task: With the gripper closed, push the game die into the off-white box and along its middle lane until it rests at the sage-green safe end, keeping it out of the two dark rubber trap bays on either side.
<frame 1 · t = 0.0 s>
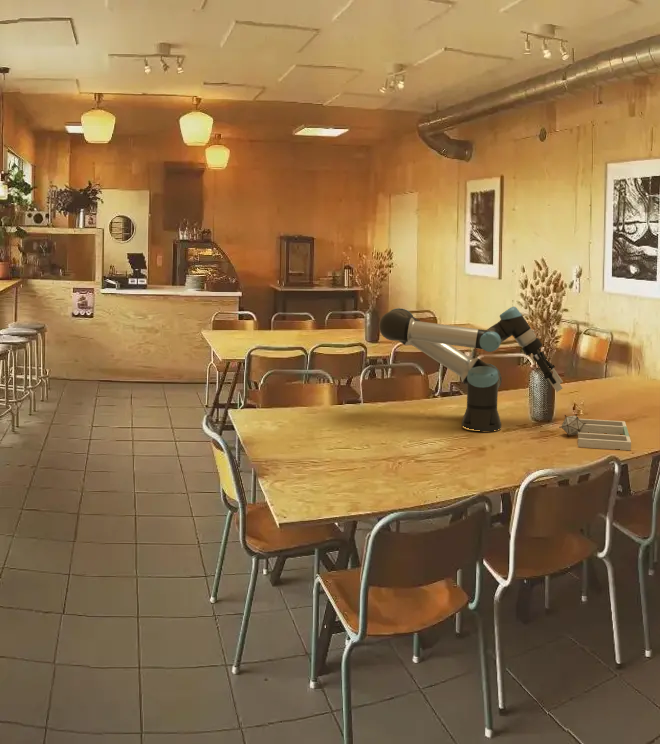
hand: (560, 386, 322), 15 cm above the table, tool tilted 35°, fingers open, 13 cm apart
trap box: (599, 437, 305), on the table
game die: (571, 436, 308), on the table
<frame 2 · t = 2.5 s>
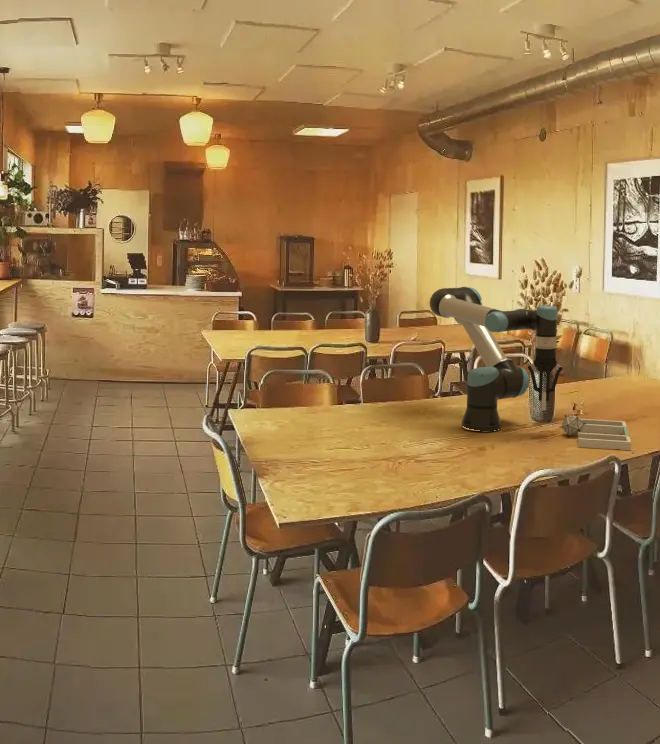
hand: (543, 409, 308), 10 cm above the table, tool pointing down, fingers closed
nothing on the table moved.
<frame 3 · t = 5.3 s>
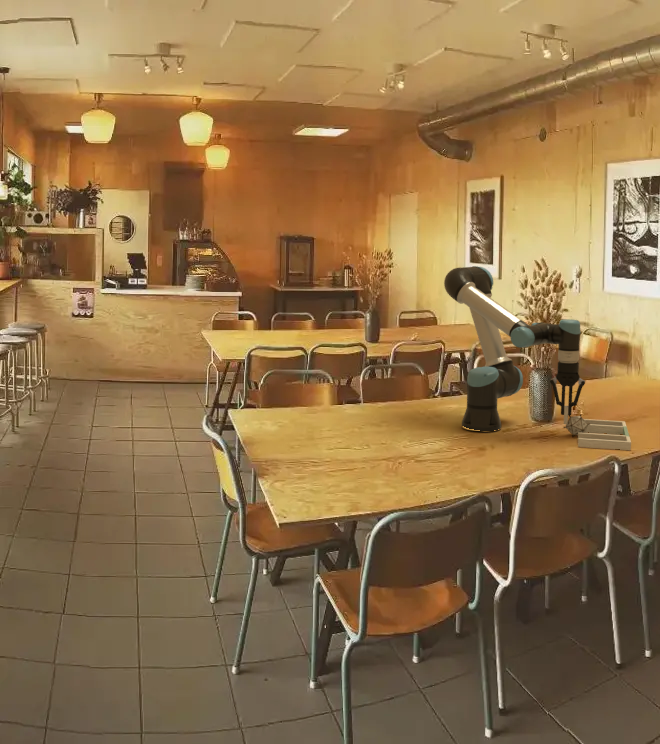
hand: (565, 423, 307), 5 cm above the table, tool pointing down, fingers closed
game die: (576, 436, 307), on the table, touching gripper
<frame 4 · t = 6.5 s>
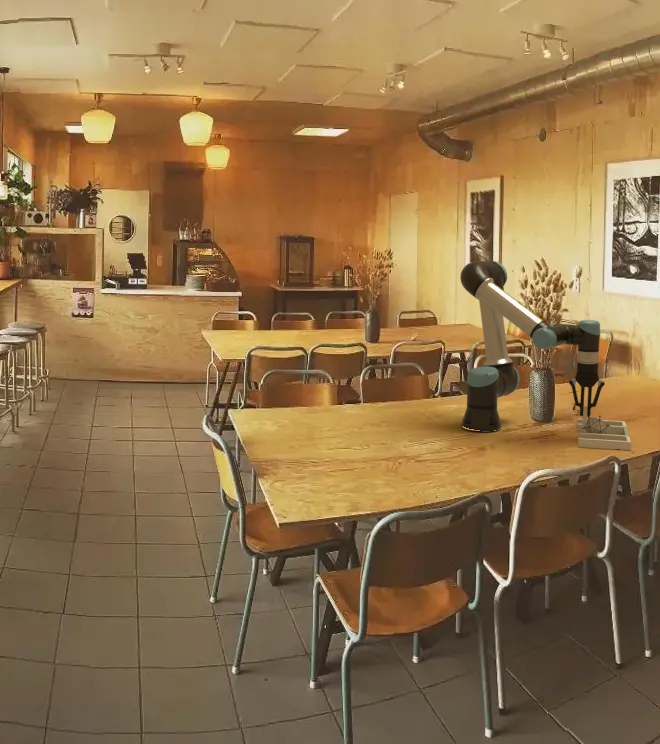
hand: (584, 424, 305), 5 cm above the table, tool pointing down, fingers closed
game die: (594, 437, 305), on the table, touching gripper
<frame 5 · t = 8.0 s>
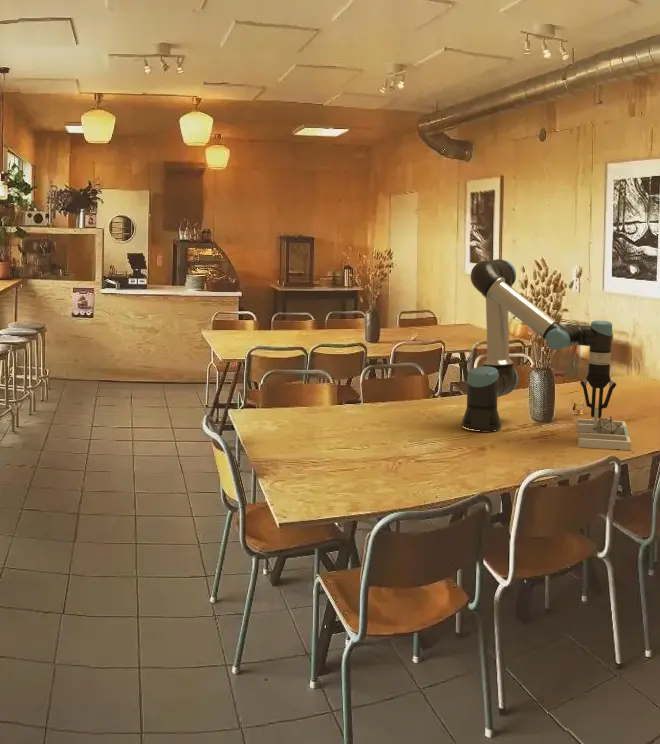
hand: (595, 425, 304), 4 cm above the table, tool pointing down, fingers closed
game die: (605, 438, 304), on the table, touching gripper
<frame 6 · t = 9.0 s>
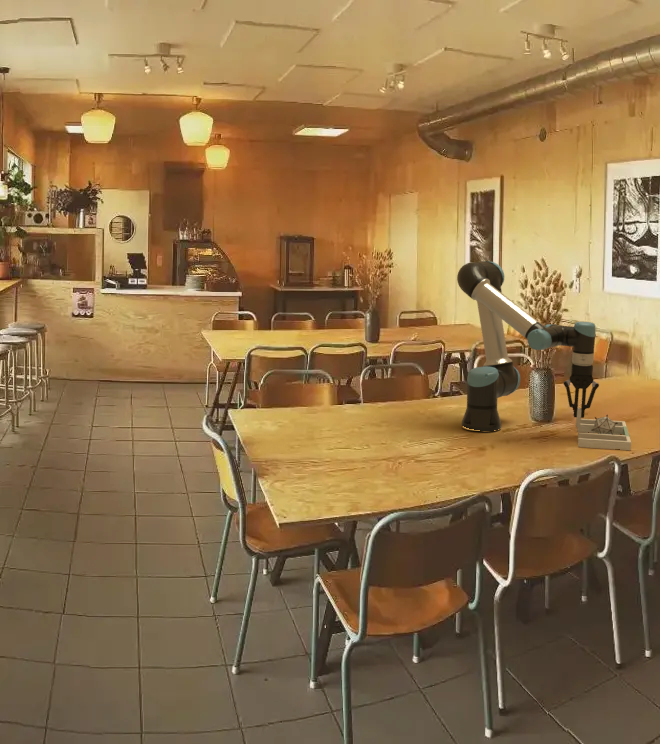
hand: (578, 425, 307), 4 cm above the table, tool pointing down, fingers closed
game die: (605, 437, 304), on the table
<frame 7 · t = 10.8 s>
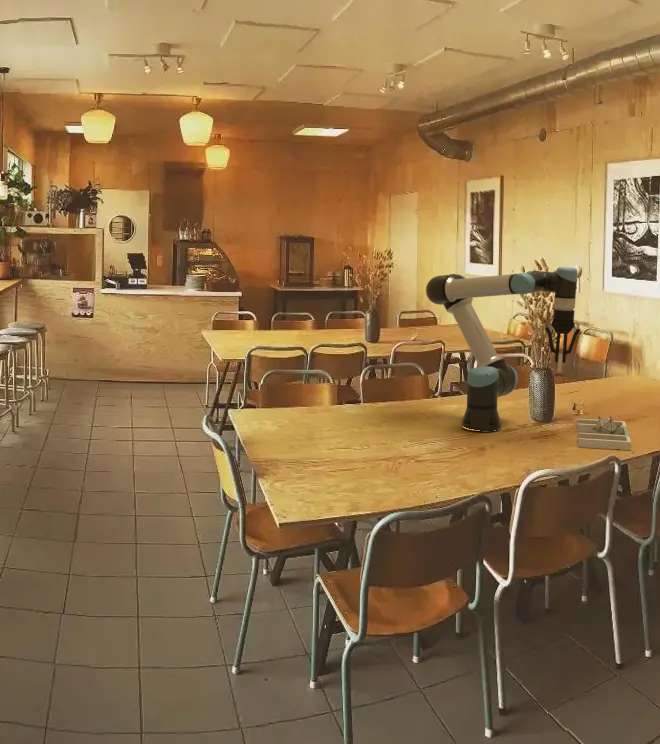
hand: (559, 371, 310), 23 cm above the table, tool pointing down, fingers closed
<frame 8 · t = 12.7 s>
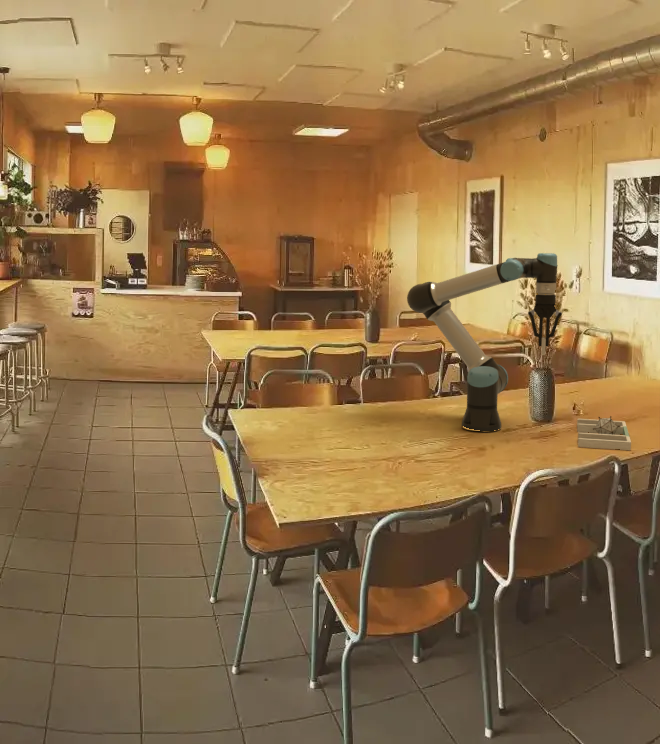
hand: (543, 354, 318), 28 cm above the table, tool pointing down, fingers closed
nothing on the table moved.
at the end: game die inside the target area (1.9 cm from its centre), on the table; game die tilted 0° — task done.
